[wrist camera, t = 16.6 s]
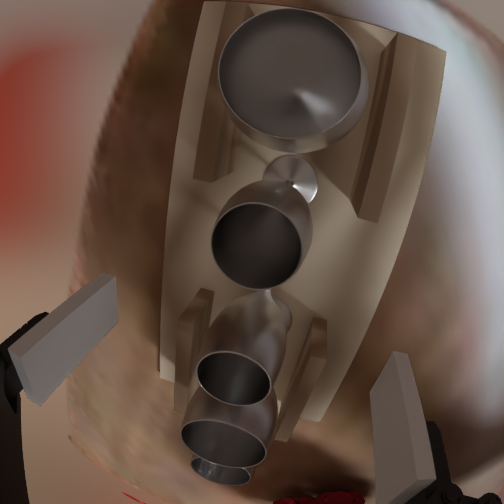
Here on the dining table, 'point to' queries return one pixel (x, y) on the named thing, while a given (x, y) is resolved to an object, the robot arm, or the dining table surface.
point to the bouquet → (326, 499)
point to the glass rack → (322, 206)
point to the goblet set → (267, 223)
